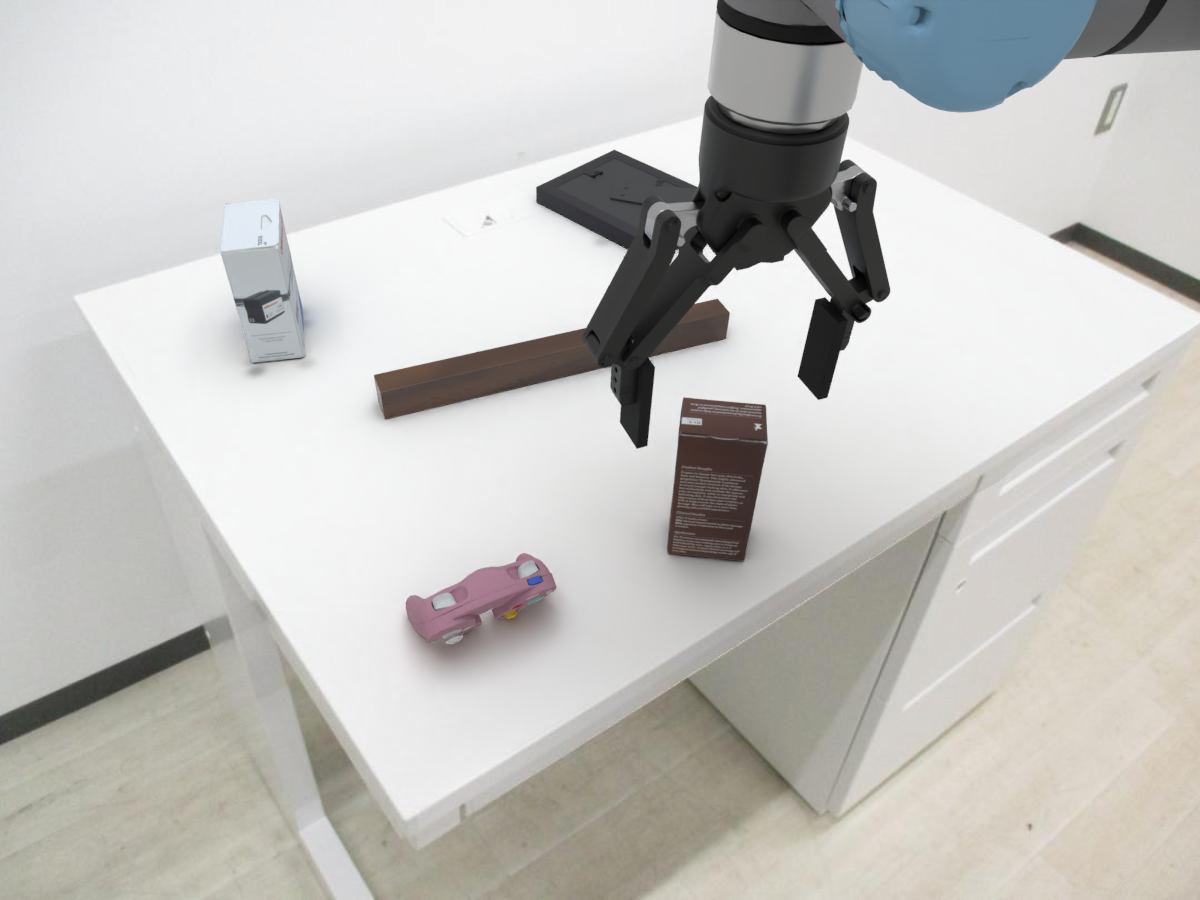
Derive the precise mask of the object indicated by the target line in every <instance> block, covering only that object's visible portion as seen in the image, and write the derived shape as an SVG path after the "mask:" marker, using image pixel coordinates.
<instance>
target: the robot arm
mask: <svg viewBox="0 0 1200 900" xmlns="http://www.w3.org/2000/svg"><path fill="white" fill-rule="evenodd" d="M713 29H714V30H713V37H712V45H711V53H710V63H709V72H708V80H707V90H708V92H709V94H710V96H709V97H708V98H707V99H706V101H705V103H704V108H703V115H702V125H701V133H700V141H699V151H698V172H699V180H698V186H697V187H698V188H697V190H696V192H695V194H694V196H693V197H692V199H691V201H690V202H681V203H665V202H664V201H663V200H662V199H661V198H660V197H659V196H658V195H651V196H649V197H648V198H646V199H645V201H644V202H643V204H642V209H641V214H640V219H639V225H638V230H637V234H636V236H635V238H634V240H633V241H632V243H631V245H630V247H629V249H627V251H626V253H625V255H624V256H623V259H622V260H621V262H620V264H619V265H618V268H617V270H616V271H615V273H614V275H613V277H612V279H611V281H610V283H609V284H608V287H607V288H606V290H605V292H604V294H603V296H602V298H601V300H600V302H598V305H597V307H596V308H595V310H594V312H593V315H592V316H591V318H590V320H589V322H588V324H587V325H586V327H585V328H586V329H585V331H584V333H583V336H582V340H583V342H584V344H585V345H586V347H587V348H588V350H589V351H590V353H591V354H592V356H593V357H594V359H595V360H596V362H597V364H598V365H599V366H600V367H602V368H601V369H608V368H611V369H610V385H609V386H610V390H611V393H612V394H613V395H614V397H615V399H616V400H617V402H618V403H619V405H620V412H619V413H620V415H619V423H620V425H621V426H622V428H623V429H624V431H625V433H626V434H627V437H629V439H630V440H631V442H632V444H633V446H634V447H635V449H637V450H638V449H641V448H645V447H648V443H649V436H650V435H649V434H650V426H651V425H650V423H651V415H652V413H651V412H652V402H653V393H654V382H655V372H656V366H655V365H654V363H653V362H652V361H651V358H649V356H650V354H651V353H652V352H653V351H654V350H655V349H656V348H657V346H658V345H659V344H660V343H661V342H662V341H663V339H664V338H665V337H666V336H667V335H668V334H669V333H670V331H671V330H672V329H673V328H674V327H675V326H676V324H677V323H678V322H679V321H680V320H681V319H682V317H683V316H684V315H685V314H686V313H687V312H688V311H689V309H690V308H691V307H692V306H693V305H694V304H696V303H697V301H698V300H700V298H701V297H702V296H703V294H704V293H705V292H706V291H707V290H708V289H709V288H710V287H711V286H718V285H720V284H721V283H722V282H723V281H724V280H725V278H727V276H728V275H729V274H730V273H731V272H732V270H733V269H734V270H736V271H741V270H746V269H750V268H751V267H755V266H756V265H758V264H761V263H765V264H766V263H767V264H773V263H779V262H783V261H784V260H785V256H788V255H789V254H790V253H791V252H793V251H794V252H795V253H796V254H797V256H798V257H799V259H800V260H801V261H802V262H803V264H804V265H805V266H806V267H807V269H808V270H809V272H810V273H811V274H812V275H813V277H814V278H815V279H816V280H817V282H818V283H819V284H820V285H821V287H822V288H823V289H824V291H825V292H826V293H827V295H828V296H829V297H830V300H829V299H828V298H827V297H825V296H824V297H821V298H816V299H815V300H814V303H813V307H812V312H811V316H810V320H809V324H808V325H809V326H808V330H807V333H806V339H805V343H804V347H803V351H802V355H801V359H800V360H801V361H800V365H799V368H798V372H797V377H798V379H799V380H800V381H801V382H802V384H803V385H804V386H805V387H806V388H807V389H808V390H809V392H810V393H811V394H812V395H813V396H814V397H815V398H816V399H817V400H818V401H821V400H824V399H828V397H829V393H830V390H831V386H832V382H833V378H834V375H835V371H836V369H837V363H838V360H839V356H840V354H841V353H840V352H842V351H845V350H846V348H847V347H848V345H849V343H850V339H851V336H852V334H853V333H852V332H853V329H854V325H855V323H857V324H861V323H864V322H866V321H867V320H868V319H869V318H870V317H871V315H872V309H871V307H870V306H869V305H868V303H870V302H872V301H874V302H875V303H881V302H883V301H885V300H886V299H888V297H889V296H890V293H891V285H890V280H889V276H888V273H887V268H886V263H885V258H884V255H883V250H882V245H881V241H880V237H879V236H880V235H879V232H878V227H877V223H876V220H875V213H874V207H875V200H876V194H877V187H878V181H877V180H876V179H875V178H874V177H873V176H871V174H869V173H868V172H866V171H865V170H864V169H863V168H862V167H860V166H859V165H858V164H856V163H855V162H854V161H853V160H851V159H849V158H848V159H844V160H842V157H843V152H844V149H845V148H844V147H845V144H846V139H847V134H848V131H849V126H850V116H849V114H848V112H849V111H850V110H852V108H853V107H854V103H855V102H856V99H857V94H858V89H859V85H860V80H861V76H862V71H863V67H865V68H867V70H868V71H869V72H874V73H875V74H876V75H877V76H878V77H879V78H880V79H881V80H883V81H888V82H889V81H890V82H892V83H893V84H894V85H896V86H897V88H898V89H901V90H903V91H904V92H905V93H906V94H909V95H910V96H912V97H913V98H914V99H916V100H917V101H918V102H920V103H921V104H924V105H925V106H928V107H931V108H933V109H936V110H940V111H944V112H950V113H974V112H981V111H986V110H989V109H992V108H995V107H997V106H1000V105H1002V104H1003V103H1004V102H1005V100H1006V99H1008V98H1010V97H1012V96H1013V95H1015V94H1017V93H1019V92H1020V91H1022V90H1025V89H1029V88H1030V89H1031V88H1033V87H1035V86H1036V85H1038V84H1039V83H1040V82H1042V81H1043V80H1044V79H1046V78H1047V77H1048V76H1049V75H1050V74H1051V73H1052V72H1053V71H1054V70H1055V69H1056V68H1057V67H1058V66H1059V65H1060V64H1061V62H1063V60H1072V59H1073V60H1074V59H1085V58H1099V57H1104V56H1113V55H1131V54H1132V55H1133V54H1152V53H1170V52H1171V53H1172V52H1191V51H1192V52H1193V51H1200V0H717V2H716V10H715V19H714V28H713ZM831 204H832V205H833V209H834V213H835V217H836V220H837V225H838V229H839V231H840V235H841V239H842V243H843V247H844V251H845V255H846V259H847V261H848V266H849V269H850V273H851V277H852V278H850V279H848V278H847V276H846V275H845V274H844V273H843V271H842V269H841V268H840V267H839V265H838V264H837V263H836V262H835V260H834V259H833V258H832V256H831V254H830V253H829V252H828V249H827V247H826V246H825V244H824V243H823V242H822V240H821V239H820V237H819V236H818V235H817V233H816V232H815V231H814V229H813V226H814V225H815V224H816V222H818V220H819V219H820V218H821V216H822V215H823V214H824V213H825V212H826V210H827V209H828V208H829V206H830V205H831ZM694 226H695V227H694ZM692 227H694V228H693V229H692V230H691V231H690V233H689V234H688V235H687V236H686V237H685V238H684V235H685V233H686V232H687V230H689V229H690V228H692ZM707 246H708V247H709V248H710V250H711V252H713V254H714V255H715V256H714V257H713V258H712V259H711V260H709V259H708V258H707V257H706V256H705V255H704V249H705V248H706V247H707ZM676 247H679V248H678V253H677V256H676V257H675V254H676V250H677V249H676ZM674 257H675V258H674ZM633 340H634V341H633ZM650 357H651V356H650Z"/></svg>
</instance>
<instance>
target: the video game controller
mask: <svg viewBox="0 0 1200 900" xmlns="http://www.w3.org/2000/svg"><path fill="white" fill-rule="evenodd" d="M557 589H558V587H557V584H556V581H555V578H554V575H553V573H552V572H551V571H550V570H549V568H548V566H547V565H546V564H545V563H544V562H543V561H542V560H541V559H539V558H536V557H534V556H533V555H531V554H529V553H527V552H522V553H520V554H519V555H517V557H516V559H515V561H513V562H511V563H508V564H505V565H500V566H487V567H481V568H479V569H476V570H474V571H472V572H471V573H469V574H468V575H467V576H465V577H464V578H463V579H462V580H460V581H459V582H457V583H454V584H452V585H450V586H447V587H445V588H444V589H441V590H439V591H437V592H436V593H434V594H432V595H430V596H428V597H426V598H423V597H422V596H420V595H417V594H411V595H409V596H408V597H407V598H406V601H405V611H406V615H407V620H408V621H409V623H410V625H411V627H412V628H413V629H414V630H415V632H416V633H417V634H418V635H419V636H421V637H422V638H424V639H425V641H426V642H427V643H429V642H436V641H438V640H442V639H444V640H446V641H445V644H446V645H454V644H456V643H459V642H460V641H461V640H462V639H463V638H464V634H466V633H468V632H470V631H473V630H474V629H476V628H478V627H480V626H481V625H482V623H483V621H482V618H481V616H480V615H482V614H484V613H487V612H490V611H491V613H492V615H493V617H494V620H501V619H503V618H506V619H507V620H511V619H514V618H515V617H516V616H517V615H518V614H517V612H519V611H521V610H523V609H524V608H526V607H528V606H530V605H532V604H535V603H536V602H539V601H540V600H543V598H545V597H547V596H549V595H550V594H552V593H554V592H555V591H556V590H557Z"/></svg>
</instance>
